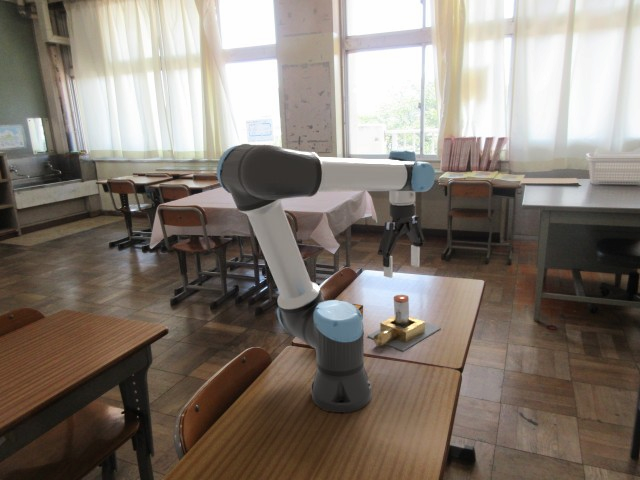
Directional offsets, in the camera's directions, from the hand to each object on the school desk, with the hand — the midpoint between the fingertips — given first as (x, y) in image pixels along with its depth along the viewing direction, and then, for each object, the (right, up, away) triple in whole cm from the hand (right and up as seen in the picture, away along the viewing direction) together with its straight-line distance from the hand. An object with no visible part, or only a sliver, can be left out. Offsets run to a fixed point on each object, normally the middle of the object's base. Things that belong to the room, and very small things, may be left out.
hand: (402, 271), depth 136 cm
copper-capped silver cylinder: (+1, -20, +5) cm, 21 cm away
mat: (+2, -20, +6) cm, 21 cm away
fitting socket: (-1, -21, +3) cm, 21 cm away
